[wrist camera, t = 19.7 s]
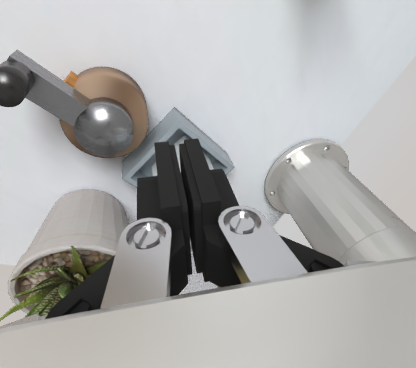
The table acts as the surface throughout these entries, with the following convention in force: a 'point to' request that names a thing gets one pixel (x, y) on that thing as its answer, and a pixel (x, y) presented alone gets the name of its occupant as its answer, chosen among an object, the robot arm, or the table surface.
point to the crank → (67, 105)
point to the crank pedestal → (115, 89)
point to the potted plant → (66, 250)
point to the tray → (171, 131)
